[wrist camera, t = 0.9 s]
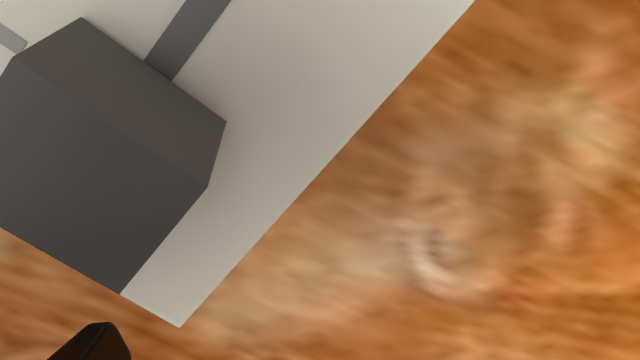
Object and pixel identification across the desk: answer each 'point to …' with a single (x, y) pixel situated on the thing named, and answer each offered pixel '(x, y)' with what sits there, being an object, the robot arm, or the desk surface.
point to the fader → (98, 153)
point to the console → (249, 104)
